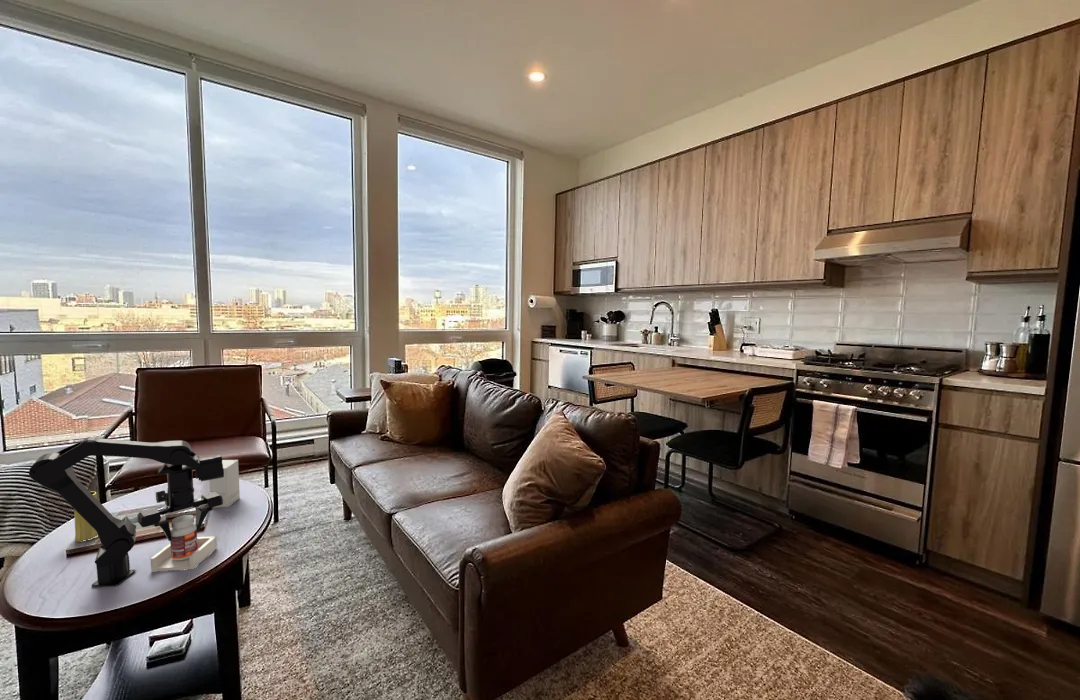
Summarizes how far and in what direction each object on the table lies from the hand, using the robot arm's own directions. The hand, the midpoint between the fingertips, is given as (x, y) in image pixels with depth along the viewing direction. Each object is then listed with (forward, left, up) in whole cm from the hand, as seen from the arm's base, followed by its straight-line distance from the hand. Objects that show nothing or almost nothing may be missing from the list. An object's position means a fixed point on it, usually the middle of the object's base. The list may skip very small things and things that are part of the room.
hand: (183, 535), depth 129 cm
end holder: (0, 0, -7) cm, 7 cm away
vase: (+16, +38, -8) cm, 42 cm away
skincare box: (+38, +9, -8) cm, 40 cm away
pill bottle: (0, 0, -6) cm, 6 cm away
